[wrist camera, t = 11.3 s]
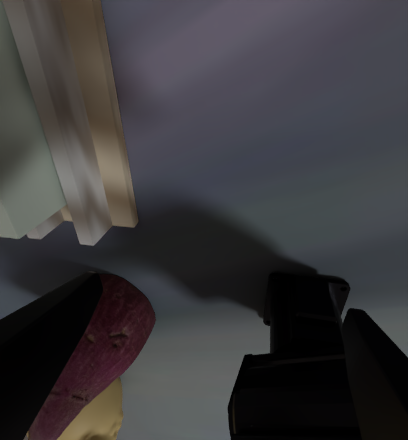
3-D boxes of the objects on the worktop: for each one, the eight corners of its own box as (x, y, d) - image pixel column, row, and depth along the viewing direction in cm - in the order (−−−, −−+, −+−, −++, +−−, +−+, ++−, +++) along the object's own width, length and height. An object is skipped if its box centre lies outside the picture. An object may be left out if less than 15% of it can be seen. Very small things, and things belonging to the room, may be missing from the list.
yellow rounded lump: (99, 396, 45) (55, 482, 36) (45, 352, 41) (-19, 436, 32) (149, 388, 40) (113, 486, 31) (93, 337, 36) (32, 432, 27)
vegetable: (151, 321, 36) (105, 470, 27) (75, 298, 35) (-3, 446, 25) (169, 289, 29) (113, 484, 19) (71, 258, 27) (-44, 449, 17)
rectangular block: (85, 190, 22) (19, 238, 16) (60, 189, 23) (-14, 235, 17) (34, 7, 16) (-101, -20, 10) (1, 9, 17) (-147, -15, 11)
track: (138, 221, 24) (117, 248, 21) (41, 212, 26) (7, 235, 23) (90, -60, 15) (36, -93, 11) (-55, -42, 17) (-137, -66, 13)
